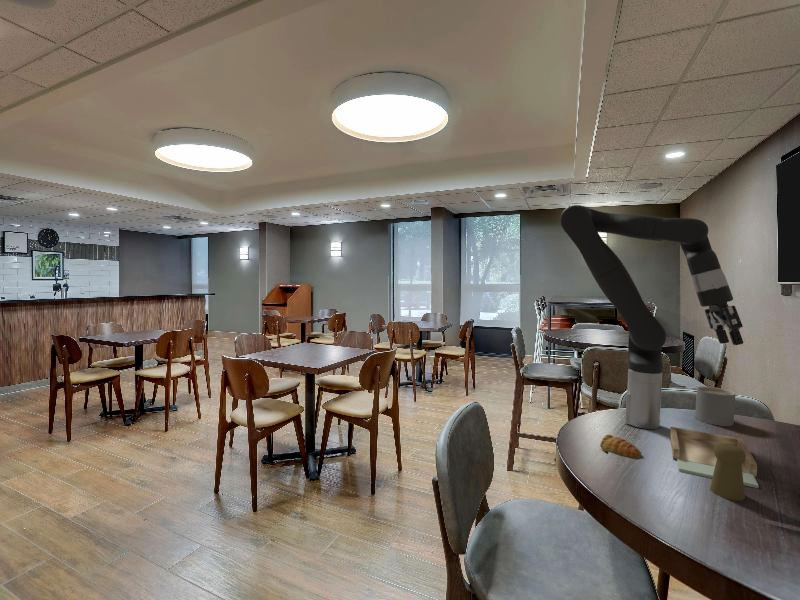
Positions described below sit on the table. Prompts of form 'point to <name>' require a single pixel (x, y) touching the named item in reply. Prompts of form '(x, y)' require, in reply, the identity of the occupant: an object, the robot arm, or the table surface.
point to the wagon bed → (705, 448)
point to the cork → (728, 472)
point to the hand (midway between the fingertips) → (731, 343)
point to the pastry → (619, 446)
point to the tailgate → (711, 471)
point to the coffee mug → (715, 406)
